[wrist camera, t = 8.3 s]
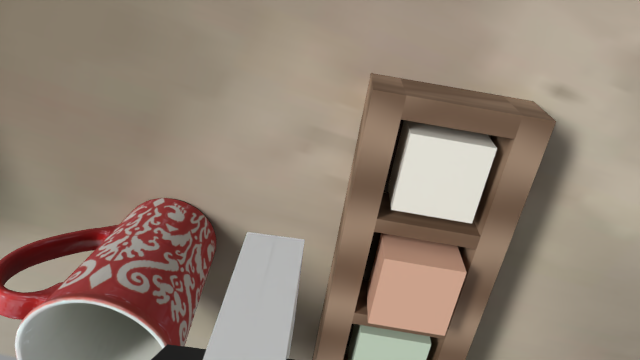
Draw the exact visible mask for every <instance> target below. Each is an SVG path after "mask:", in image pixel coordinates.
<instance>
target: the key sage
mask: <svg viewBox="0 0 640 360" xmlns="http://www.w3.org/2000/svg"><path fill="white" fill-rule="evenodd" d="M430 347H431V340H430V336H424V335H418V334H412V333H406V332H400V331H394V330H388V329H382V328H376V327H370V326H364V325H358V324H354V328H353V332H352V336H351V340H350V344H349V348H348V360H426V359H427V356H428V353H429V350H430Z"/></svg>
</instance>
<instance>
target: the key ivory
mask: <svg viewBox="0 0 640 360" xmlns="http://www.w3.org/2000/svg"><path fill="white" fill-rule="evenodd" d="M496 151H497V147H496V146H495V144H494V143H493V142H492V140H491V139H490V137H489V136H488V134H482V133H476V132H471V131H465V130H459V129H453V128H447V127H442V126H436V125H430V124H424V123H419V122H413V121H407V120H404V122H403V126H402V131H401V135H400V139H399V143H398V147H397V151H396V155H395V159H394V163H393V168H392V172H391V176H390V180H389V184H388V190H389V197H390V204H391V210H395V211H401V212H407V213H413V214H419V215H425V216H431V217H436V218H442V219H448V220H454V221H460V222H466V223H472V222H473V219H474V216H475V213H476V210H477V207H478V204H479V201H480V198H481V195H482V192H483V189H484V186H485V183H486V180H487V177H488V174H489V171H490V168H491V166H492V163H493V160H494V157H495V154H496Z"/></svg>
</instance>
